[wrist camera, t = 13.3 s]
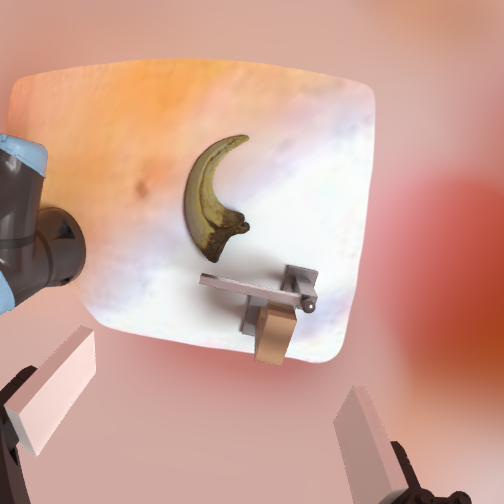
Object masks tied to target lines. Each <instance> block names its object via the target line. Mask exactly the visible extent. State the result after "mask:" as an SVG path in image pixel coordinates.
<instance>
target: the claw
mask: <svg viewBox="0 0 504 504" xmlns="http://www.w3.org/2000/svg"><path fill="white" fill-rule="evenodd" d="M248 140H249V137H248V136H244V135H242V136H236V137H231V138H227V139H224V140H222V141H220V142H218V143H216V144H214V145H213V146H211V147H210V148H209V149H207V150H206V151H205V152H204V153H203V154H202V155H201V156H200V157H199V159H198V161H197V162H196V164H195V165H194V167H193V169H192V172H191V174H190V177H189V179H188V184H187V189H186V195H185V212H186V218H187V223H188V226H189V229H190V232H191V234H192V237H193V239H194V241H195V242H196V244H197V246H198V247H199V249H200V250H201V251H202V253H203V254H204V255H205V256H206V258H207V259H208V260H209V261H211V262H213V263H217V262H218V260H219V256H220V254H221V252H222V251H223V248H224V246H225V244H226V242H227V241H228V239H229V238H230V237H231V236H234V235H236V234H244V233H246V232H247V231H249V230H250V226H249V224H248V223H247V222H244V221H245V217H244V215H243V214H242V213H239V212H233V211H230V210H228V209H226V208H224V207H223V206H222V205H221V204H220V203H219V201H218V200H217V198H216V196H215V194H214V192H213V188H212V179H213V175H214V171H215V169H216V167H217V165H218V164H219V162H220V161H221V159H222V158H223V157H224V156H225V155H226V154H227V153H228V152H229V151H231V150H232V149H234V148H235V147H237V146H239V145H240V144H242V143H244V142H246V141H248Z"/></svg>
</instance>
